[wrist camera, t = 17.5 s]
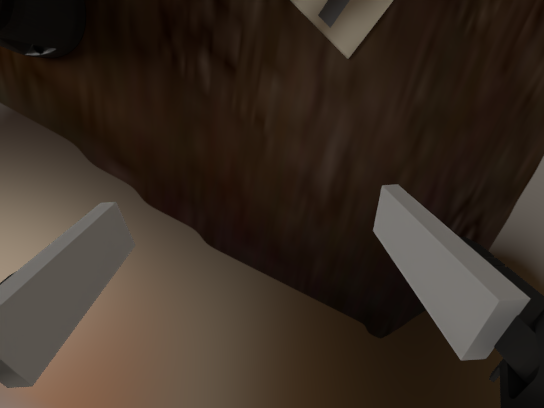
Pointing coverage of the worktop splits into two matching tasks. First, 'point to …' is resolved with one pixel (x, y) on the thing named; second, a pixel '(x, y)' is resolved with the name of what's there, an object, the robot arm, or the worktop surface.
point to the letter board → (343, 19)
